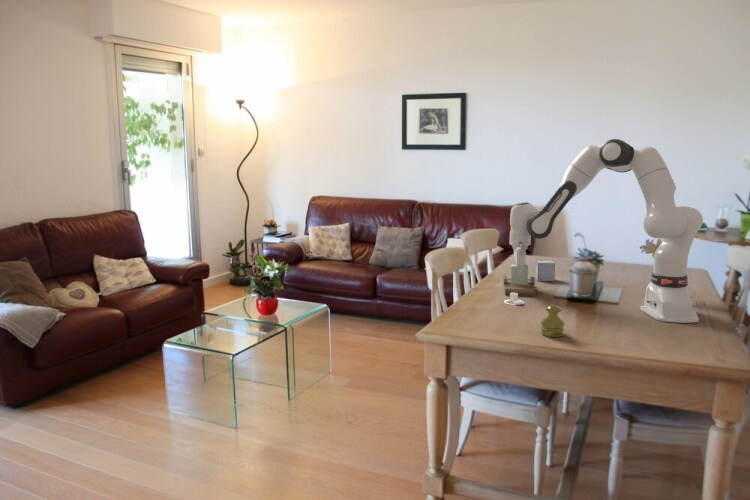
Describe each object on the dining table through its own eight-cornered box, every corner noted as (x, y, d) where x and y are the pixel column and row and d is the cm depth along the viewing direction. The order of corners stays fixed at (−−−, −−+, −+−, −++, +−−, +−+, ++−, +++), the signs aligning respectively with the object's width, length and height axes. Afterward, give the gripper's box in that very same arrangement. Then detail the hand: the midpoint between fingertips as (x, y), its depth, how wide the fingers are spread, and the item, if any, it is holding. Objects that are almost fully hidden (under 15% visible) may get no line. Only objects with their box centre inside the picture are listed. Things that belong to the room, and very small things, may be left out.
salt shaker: (567, 333, 194) (568, 305, 193) (557, 339, 189) (559, 310, 187) (546, 329, 199) (548, 301, 197) (537, 334, 194) (538, 306, 192)
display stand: (535, 296, 241) (536, 283, 240) (503, 295, 243) (504, 282, 242) (532, 285, 258) (532, 273, 257) (502, 284, 261) (503, 272, 260)
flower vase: (686, 302, 228) (691, 243, 223) (637, 299, 234) (641, 241, 229) (680, 294, 239) (685, 237, 235) (634, 291, 245) (638, 236, 241)
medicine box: (552, 279, 269) (553, 260, 268) (554, 281, 265) (555, 262, 263) (535, 278, 270) (536, 260, 268) (537, 281, 266) (537, 262, 264)
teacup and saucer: (524, 307, 227) (524, 296, 227) (503, 306, 229) (504, 296, 228) (523, 300, 236) (524, 291, 235) (503, 300, 237) (504, 290, 237)
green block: (527, 284, 247) (528, 266, 246) (510, 284, 249) (511, 266, 247) (526, 282, 251) (527, 264, 250) (510, 282, 253) (510, 264, 251)
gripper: (529, 244, 236) (528, 277, 238) (526, 236, 256) (525, 267, 258) (513, 244, 237) (512, 277, 240) (511, 236, 257) (510, 266, 259)
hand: (519, 272), depth 249 cm, fingers open, 8 cm apart
